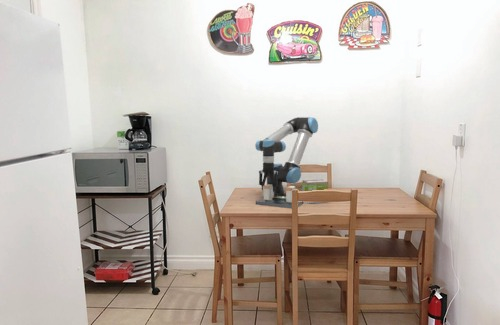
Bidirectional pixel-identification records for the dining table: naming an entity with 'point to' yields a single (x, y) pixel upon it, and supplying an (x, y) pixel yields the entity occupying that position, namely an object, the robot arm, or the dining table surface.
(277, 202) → the levelling base
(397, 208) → the dining table surface
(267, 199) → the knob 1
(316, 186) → the tea box
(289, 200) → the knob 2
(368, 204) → the dining table surface
